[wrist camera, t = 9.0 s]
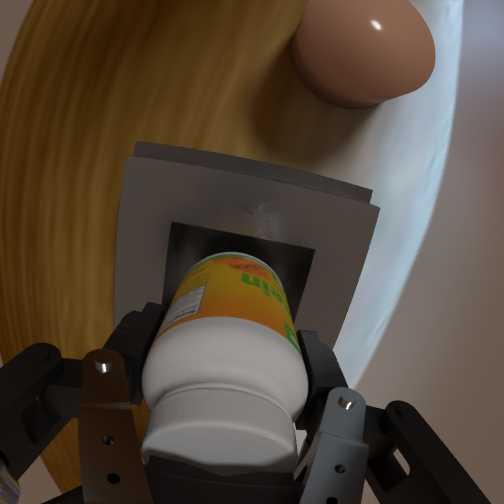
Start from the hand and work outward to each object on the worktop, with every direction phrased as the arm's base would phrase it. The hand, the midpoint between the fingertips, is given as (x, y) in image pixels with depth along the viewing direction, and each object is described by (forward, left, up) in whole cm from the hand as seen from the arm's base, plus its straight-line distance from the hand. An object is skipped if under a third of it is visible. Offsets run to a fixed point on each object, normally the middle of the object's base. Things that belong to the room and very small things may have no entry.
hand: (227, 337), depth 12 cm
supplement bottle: (0, 0, -4) cm, 4 cm away
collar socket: (0, 0, -7) cm, 7 cm away
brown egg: (-15, +4, -7) cm, 17 cm away
